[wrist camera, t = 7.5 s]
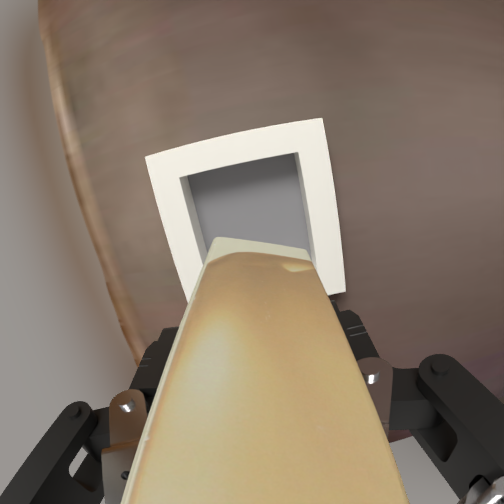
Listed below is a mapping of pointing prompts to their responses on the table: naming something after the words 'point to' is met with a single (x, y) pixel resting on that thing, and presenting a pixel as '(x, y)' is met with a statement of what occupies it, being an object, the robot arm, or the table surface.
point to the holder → (251, 197)
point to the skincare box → (262, 395)
